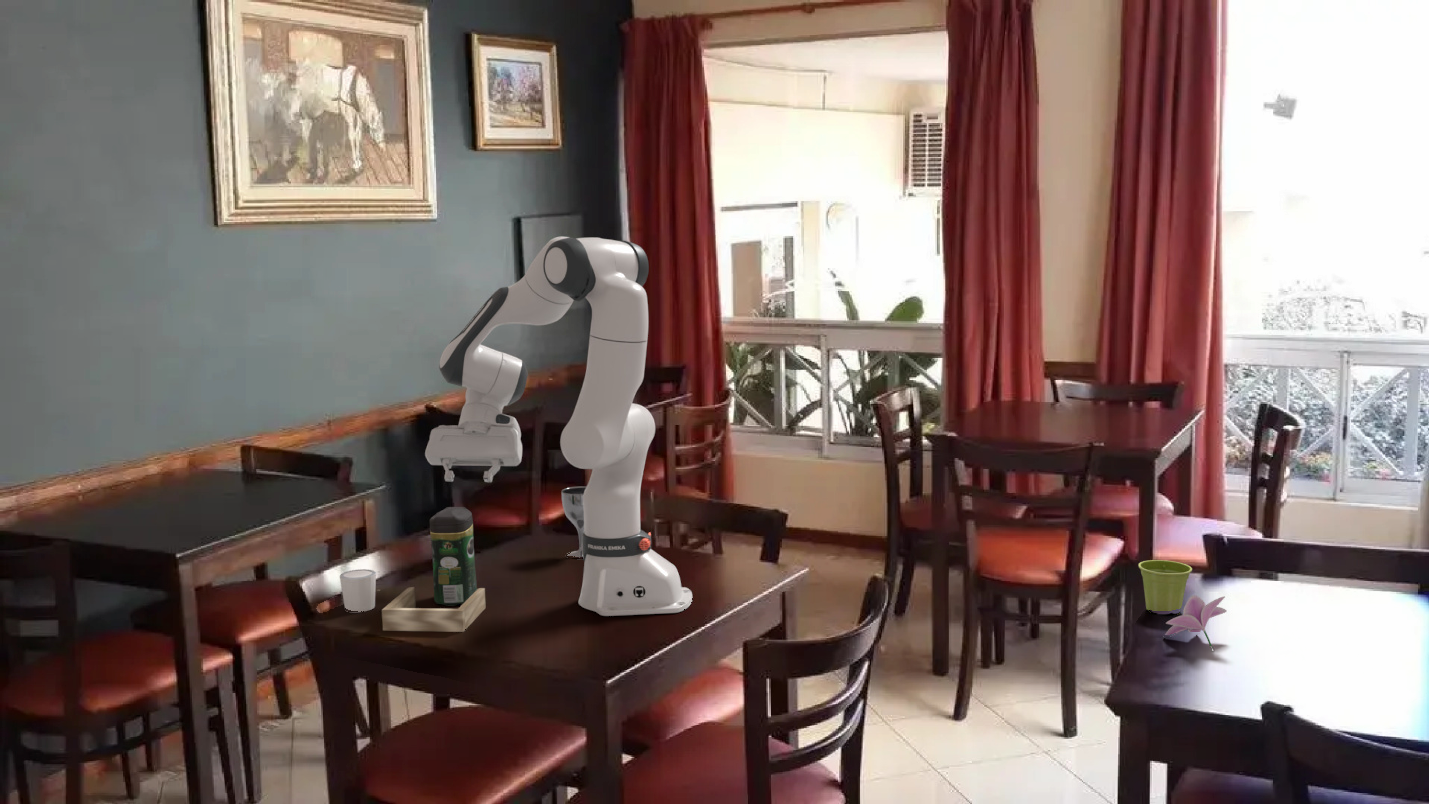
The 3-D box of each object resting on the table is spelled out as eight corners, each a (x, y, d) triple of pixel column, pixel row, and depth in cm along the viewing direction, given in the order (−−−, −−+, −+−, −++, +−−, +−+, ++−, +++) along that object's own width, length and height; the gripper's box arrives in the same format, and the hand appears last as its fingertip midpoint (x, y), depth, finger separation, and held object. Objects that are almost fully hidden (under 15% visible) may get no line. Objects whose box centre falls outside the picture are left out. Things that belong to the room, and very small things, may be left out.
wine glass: (564, 551, 281) (561, 487, 279) (599, 549, 282) (596, 485, 279) (563, 560, 273) (561, 494, 271) (599, 558, 274) (597, 493, 272)
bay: (485, 607, 240) (484, 588, 239) (463, 631, 226) (462, 610, 226) (409, 606, 242) (408, 587, 241) (383, 630, 228) (381, 609, 227)
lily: (1237, 644, 215) (1216, 592, 217) (1251, 640, 203) (1228, 584, 206) (1169, 664, 216) (1149, 611, 219) (1179, 661, 205) (1158, 605, 208)
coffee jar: (442, 592, 251) (438, 504, 248) (480, 592, 250) (476, 503, 248) (429, 607, 241) (424, 515, 239) (468, 607, 241) (464, 515, 238)
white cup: (383, 602, 245) (381, 568, 244) (370, 613, 238) (368, 578, 237) (350, 602, 246) (347, 568, 244) (336, 613, 239) (333, 578, 238)
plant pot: (1145, 600, 237) (1146, 557, 235) (1196, 608, 231) (1197, 564, 230) (1130, 613, 229) (1132, 568, 228) (1182, 622, 224) (1184, 576, 222)
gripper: (428, 417, 261) (415, 471, 253) (522, 417, 259) (512, 472, 251) (436, 433, 266) (423, 487, 258) (528, 434, 264) (518, 489, 256)
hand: (467, 480), depth 255 cm, fingers open, 7 cm apart
